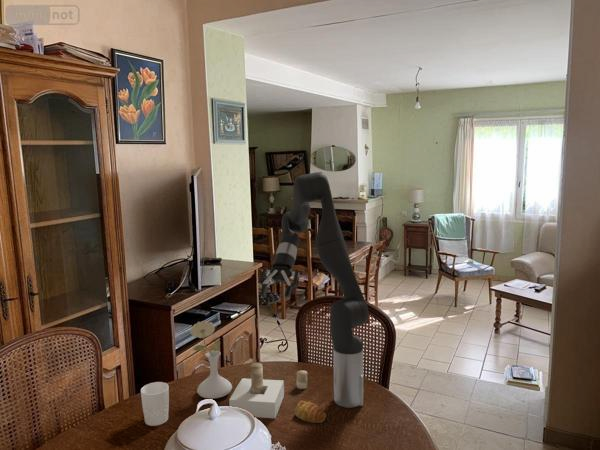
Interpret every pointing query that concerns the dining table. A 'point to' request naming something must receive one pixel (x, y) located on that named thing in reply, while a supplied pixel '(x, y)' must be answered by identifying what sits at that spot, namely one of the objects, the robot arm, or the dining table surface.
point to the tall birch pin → (257, 378)
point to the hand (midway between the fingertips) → (274, 296)
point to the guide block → (259, 398)
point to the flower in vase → (214, 383)
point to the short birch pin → (301, 379)
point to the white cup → (155, 403)
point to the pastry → (310, 412)
